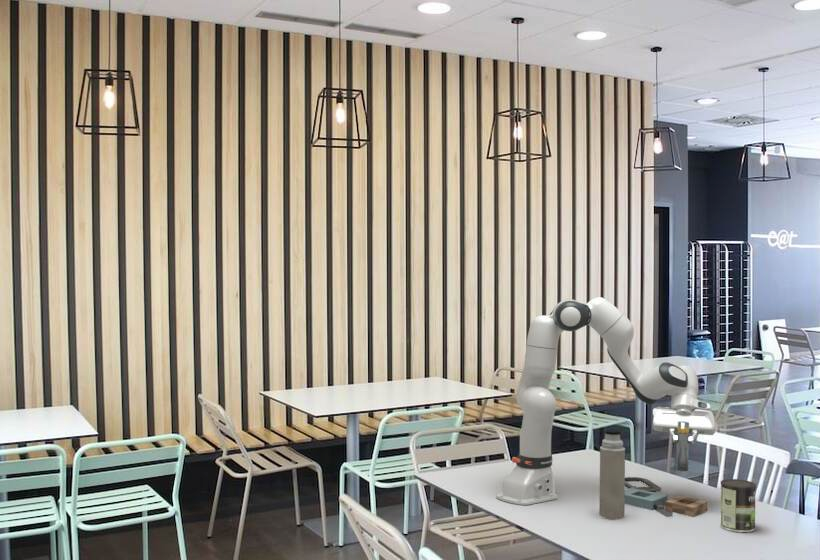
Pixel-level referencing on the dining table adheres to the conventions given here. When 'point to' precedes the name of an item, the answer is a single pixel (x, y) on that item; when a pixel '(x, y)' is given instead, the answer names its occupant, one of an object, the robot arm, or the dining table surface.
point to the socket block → (686, 506)
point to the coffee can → (738, 505)
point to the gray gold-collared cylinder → (683, 446)
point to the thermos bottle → (612, 476)
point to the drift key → (662, 510)
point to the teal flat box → (644, 498)
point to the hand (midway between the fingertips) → (683, 442)
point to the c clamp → (652, 487)
